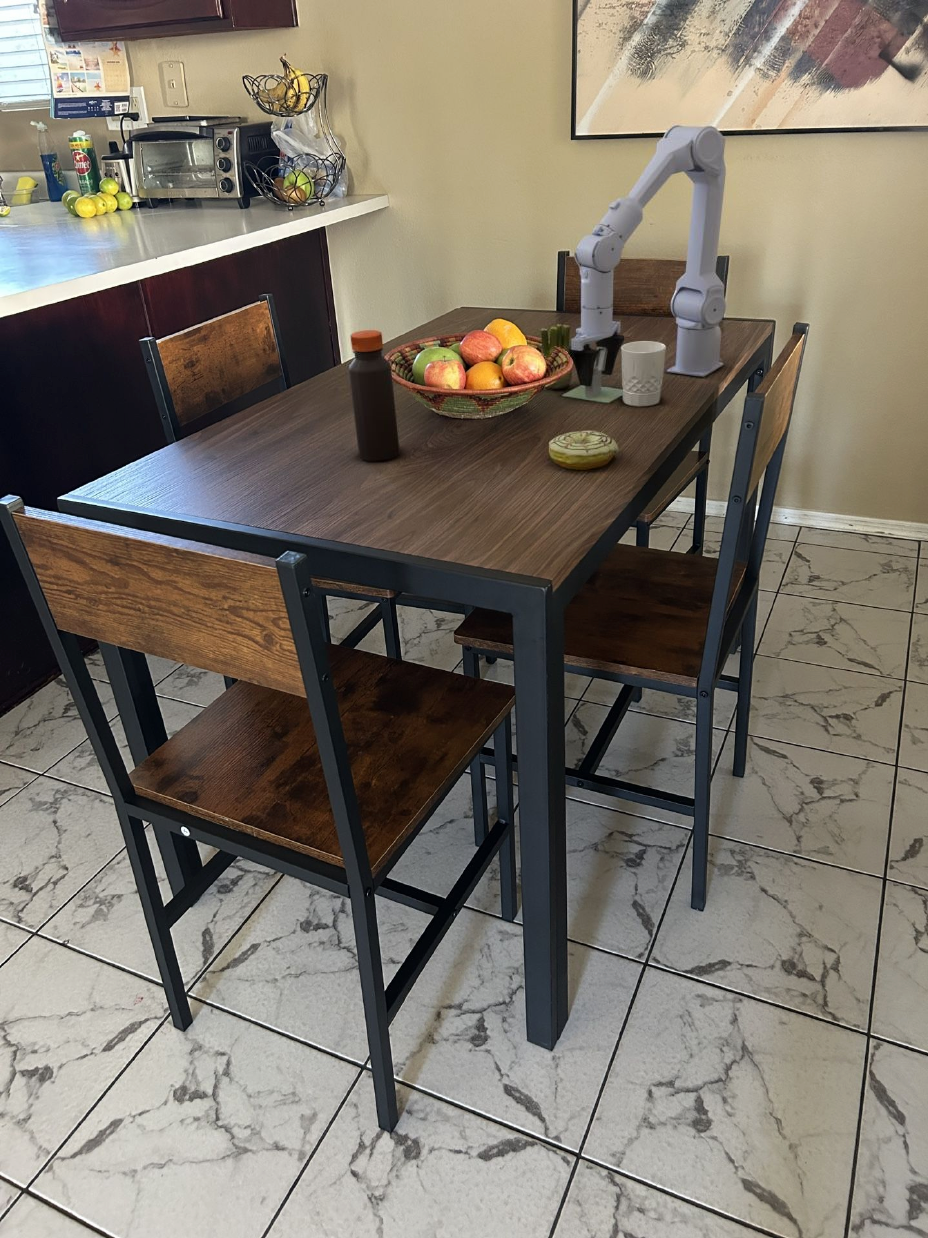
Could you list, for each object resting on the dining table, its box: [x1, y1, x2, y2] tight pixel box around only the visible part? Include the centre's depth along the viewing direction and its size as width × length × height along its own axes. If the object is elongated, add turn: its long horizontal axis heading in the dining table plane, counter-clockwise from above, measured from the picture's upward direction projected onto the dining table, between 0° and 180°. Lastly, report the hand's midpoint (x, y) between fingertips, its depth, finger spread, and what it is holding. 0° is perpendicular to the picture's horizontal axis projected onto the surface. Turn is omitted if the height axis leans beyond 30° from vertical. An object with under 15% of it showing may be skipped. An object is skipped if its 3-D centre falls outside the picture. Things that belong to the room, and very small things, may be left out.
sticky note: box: [561, 385, 623, 404], centre depth 177 cm, size 8×10×1 cm
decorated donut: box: [548, 429, 619, 471], centre depth 147 cm, size 10×11×4 cm
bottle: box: [348, 329, 400, 463], centre depth 151 cm, size 7×7×20 cm
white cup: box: [620, 340, 667, 407], centre depth 170 cm, size 8×8×10 cm
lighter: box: [585, 346, 608, 398], centre depth 175 cm, size 7×2×8 cm, turn 151°
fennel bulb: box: [540, 323, 573, 390], centre depth 179 cm, size 6×5×12 cm
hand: (596, 379), depth 176 cm, fingers open, 7 cm apart
